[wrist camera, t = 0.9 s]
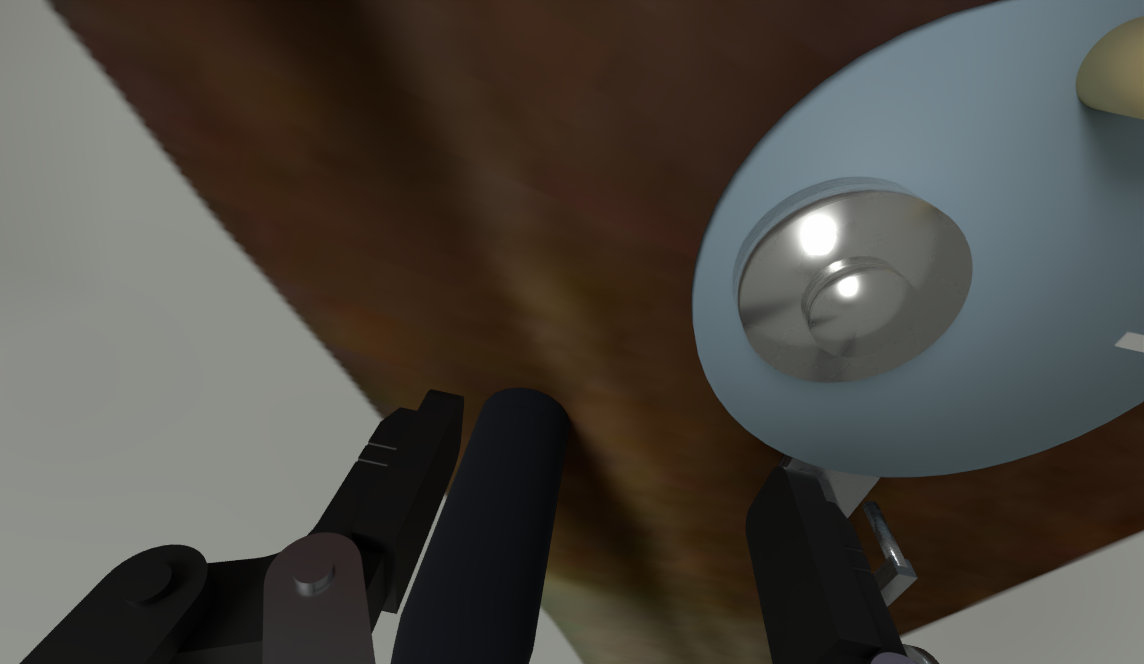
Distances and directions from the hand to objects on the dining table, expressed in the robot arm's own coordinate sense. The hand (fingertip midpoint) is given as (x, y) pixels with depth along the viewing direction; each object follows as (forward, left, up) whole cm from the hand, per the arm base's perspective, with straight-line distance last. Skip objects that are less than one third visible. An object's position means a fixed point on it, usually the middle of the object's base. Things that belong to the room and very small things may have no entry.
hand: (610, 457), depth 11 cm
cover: (0, +10, -14) cm, 17 cm away
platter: (0, +16, -16) cm, 22 cm away
